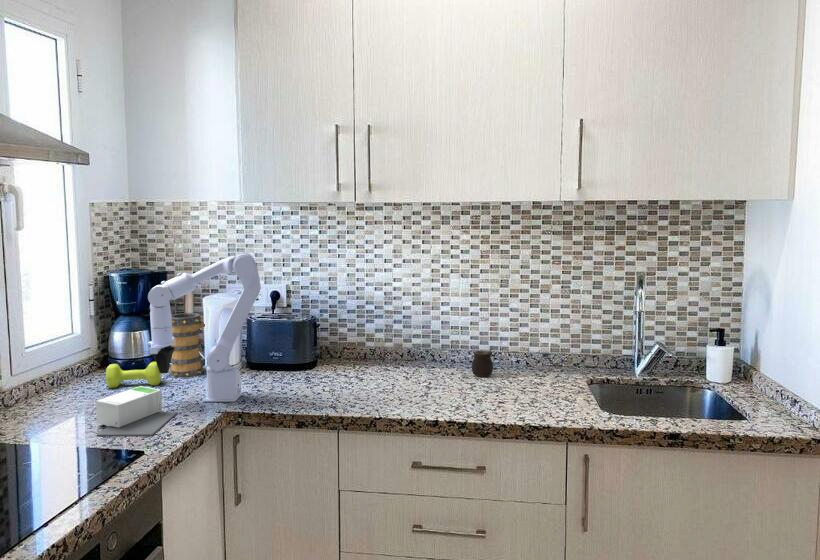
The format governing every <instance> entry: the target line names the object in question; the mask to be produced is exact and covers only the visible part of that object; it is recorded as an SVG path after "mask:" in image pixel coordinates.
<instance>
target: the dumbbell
mask: <svg viewBox="0 0 820 560" xmlns="http://www.w3.org/2000/svg"><path fill="white" fill-rule="evenodd" d="M162 374H163V373H160V372H159V369H158V366H157V363H156V361H152V362H150V363H149V364H148V365H147V366H146V368H145V369H130V370H128V369H127V370H123V369H122V368H121V366H120V365H119V364H118V363H111V364H109V365H108V366H107V367H106V369H105V381H106V385H107V387H108V388H109V389H115V388H118V387H119V386H120V384H121V382H123V381H131V380H146V381H147V383H148V384H149V385H150V386H152V387H153V386H158V385H160V384H161V382H162Z"/></svg>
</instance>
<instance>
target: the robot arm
mask: <svg viewBox="0 0 820 560" xmlns="http://www.w3.org/2000/svg"><path fill="white" fill-rule="evenodd" d="M233 272H234V274H236V276H237V277H238V278H239V279H240V282H241V285H242V287H243V288H242V291H241V293H240V295H239V298H238V299H237V301H236V303H235V304H234V308H233V310H232V311H231V313H230V316H229V318H228V319H227V322H226V323H225V326H224V328H223V330H222V332H221V334H220V335H219V337H218V339H217V341H215V342H216V344H215V345H213V346H212V345H211V347H210V348H209V349H208V352H207V357H206V359H207V367H206V368H205V370H206V384H207V387H206V388H207V396H206V397H204V399H203V400H202V401H203V402H204V403H206V402H207V403H210V402H212V403H213V402H216V403H217V402H220V403H221V402H227V403H228V402H229V403H230V402H236V401H237V400H238V399H239V398H240V397H241V396H242V394H243V392H242V379H241V375H242V374H241V371H240V369H238V368H233V367H232V365H231V364H230V358H231V357H230V355H231V352H232V350H233V347H234V345H235V343H236V341H237V339H238V336H239V334H240V332H241V330H242V328H243V327H244V325H245V323H246V320H247V318H248V317H249V314H250V312H251V311H252V307H253V306H254V304H255V303H256V300H257V298H258V296H259V294H260V292H261V289H262V285H261V281H260V275H259V269H258V265H257V263H256V260H255V259H254V257H253V255H251V254H250V253H248V252H239V253H238V254H236V255H230V256H228V257H225V258H223V259H220V260H218V261H216V262H214V263H213V264H210V265H208V266H206V267H203V268H202V269H200V270H198V271H196V272H195V273H188V272H183V273H182V272H179V273H177V274H176V276H175V277H173V278H170V279H169V280H163V281H161V282H160V284H157V285H155V286H154V287H152V288H151V289H150V290H149V292H148V294H147V300H148V302H149V303H150V305H149V309H150V312H149V316H150V317H149V318H150V335H151V341H148V342H147V345H149V346H150V347H149V355H152V357H153V359H154V360H155V361H154V362H156V363H157V366H158V369H159V372H160V373H162V374H169V373H168V372H169V371H170V366H171V358H172V354H173V352H174V350H175V347H171V345H173V344H174V343H175V339H174V337H173V336H172V319H171V315H172V310H171V304H170V303H171V300H173V301H175V300H177V299H180V298H181V297H183V296H185V295H187V294H189V293H192V292H194V291H195V290H196V288H197V285H198V284H201V283H202V282H205V281H207V280H209V279H212V278H215V277H217V276H218V275H221V274H226V275H232V274H233Z"/></svg>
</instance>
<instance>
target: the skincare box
mask: <svg viewBox="0 0 820 560" xmlns="http://www.w3.org/2000/svg"><path fill="white" fill-rule="evenodd" d="M162 393H163V392H162V389H159V388H153V387H148V386H144V385H143V386H142V385H139V386H136V387H133V388H131V389H128V390H124V391H122V392H119V393H115V394H112V395H110V396H107V397H103V398H101V399H98V400H95V406H96V407H95V408H96V409H95V410H96V423H97V424H98V425H99V424H100V425H104V426H106V427H108V426H112V427H117V428H119V427H122V426H124V425H127V424H129V423H132V422H134V421H137V420H139V419H142V418H144V417H147V416H150V415H152V414H155V413H157V412H163V411H162V410H163V404H162V403H163V399H162V397H163V396H162Z"/></svg>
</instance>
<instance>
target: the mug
mask: <svg viewBox="0 0 820 560" xmlns="http://www.w3.org/2000/svg"><path fill="white" fill-rule="evenodd" d="M171 319H172V336H173V337H174V339H175V343H174V344H173V345H170V347H175V350H174V352H173V354H172V357H171V361H170V364H171V368H169V372H168V373H167V374H169V375H170V376H171V377H173V378H179V379H180V378H193V377H196V376H201V375H202V374H204V371H205V370H206V368H205V367H204V366H206V365H205V360H206V359H205V360H202V359H203V356H202V355H200V353H201V352H200V347H201V343H200V340H199V339H200V336H199V335H200V333H201V332H202V331H201V329H202V328H205V324H204V321H201V320H203V319H204V317H202V316H201V314H200V313H197V312H183V313H181V312H180V313H179V312H178V313H174V314H172V313H171Z"/></svg>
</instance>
